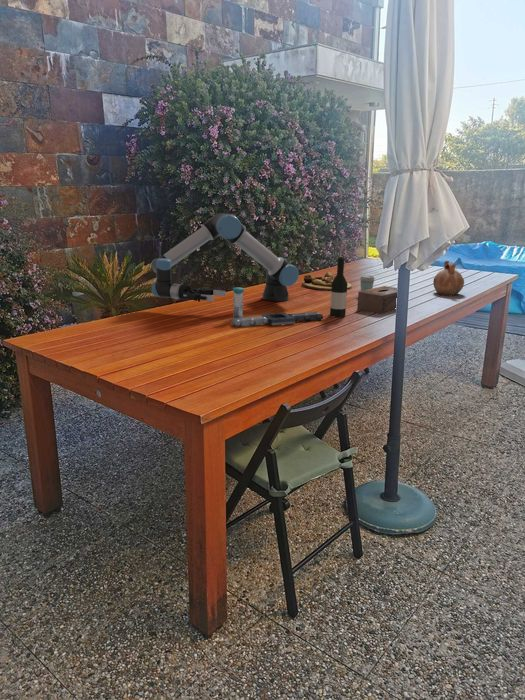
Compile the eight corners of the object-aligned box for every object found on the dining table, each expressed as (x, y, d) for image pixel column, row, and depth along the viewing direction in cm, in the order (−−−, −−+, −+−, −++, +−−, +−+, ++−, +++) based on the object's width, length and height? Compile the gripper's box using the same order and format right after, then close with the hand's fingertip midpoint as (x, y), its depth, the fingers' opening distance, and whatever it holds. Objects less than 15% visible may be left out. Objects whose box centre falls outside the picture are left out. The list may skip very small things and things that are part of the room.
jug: (466, 297, 340) (471, 264, 334) (436, 296, 340) (440, 263, 334) (457, 291, 358) (461, 259, 352) (428, 290, 358) (432, 259, 352)
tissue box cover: (380, 314, 292) (381, 295, 289) (357, 310, 301) (358, 291, 298) (405, 307, 310) (407, 289, 307) (382, 303, 319) (384, 285, 316)
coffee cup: (373, 298, 331) (374, 278, 327) (358, 297, 332) (359, 277, 329) (373, 295, 339) (374, 275, 335) (359, 294, 340) (360, 274, 337)
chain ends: (228, 323, 267) (229, 317, 266) (314, 315, 285) (314, 310, 284) (238, 329, 256) (238, 323, 255) (325, 321, 274) (326, 315, 273)
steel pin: (230, 318, 276) (231, 287, 272) (241, 317, 278) (241, 287, 274) (234, 320, 271) (235, 289, 267) (245, 320, 273) (245, 289, 269)
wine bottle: (333, 317, 282) (336, 257, 273) (326, 313, 290) (330, 255, 281) (348, 317, 284) (352, 257, 275) (341, 313, 292) (345, 255, 283)
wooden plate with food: (296, 289, 355) (297, 276, 352) (308, 280, 384) (308, 268, 381) (347, 294, 346) (348, 280, 344) (354, 284, 375) (355, 272, 373)
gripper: (192, 295, 294) (229, 299, 287) (168, 303, 272) (207, 308, 265) (192, 280, 292) (230, 284, 285) (168, 288, 270) (208, 292, 263)
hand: (219, 296), depth 275 cm, fingers open, 13 cm apart
